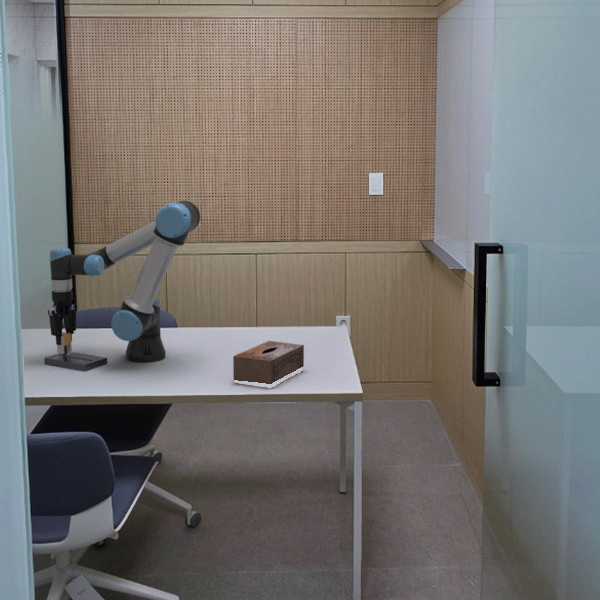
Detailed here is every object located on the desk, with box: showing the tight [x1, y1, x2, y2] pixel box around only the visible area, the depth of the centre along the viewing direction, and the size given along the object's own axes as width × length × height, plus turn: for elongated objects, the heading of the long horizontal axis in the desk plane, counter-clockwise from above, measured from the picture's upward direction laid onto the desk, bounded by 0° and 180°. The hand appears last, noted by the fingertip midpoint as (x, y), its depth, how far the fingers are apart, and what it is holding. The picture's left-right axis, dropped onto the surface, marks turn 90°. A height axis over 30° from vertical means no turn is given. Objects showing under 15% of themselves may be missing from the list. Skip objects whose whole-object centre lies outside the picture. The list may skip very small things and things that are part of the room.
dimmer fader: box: [62, 331, 72, 355], centre depth 336 cm, size 4×3×8 cm
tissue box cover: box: [232, 340, 305, 384], centre depth 318 cm, size 26×14×10 cm, turn 154°
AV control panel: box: [43, 351, 108, 372], centre depth 334 cm, size 20×12×3 cm, turn 61°
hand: (64, 351), depth 336 cm, fingers closed on dimmer fader, 3 cm apart
